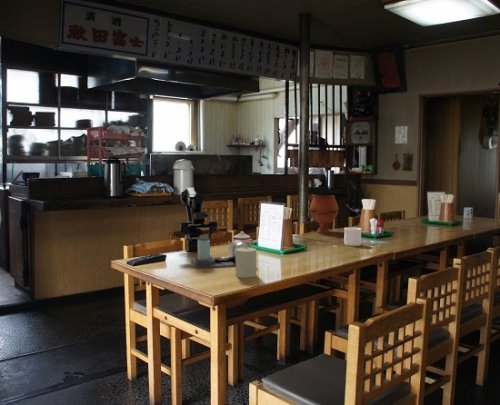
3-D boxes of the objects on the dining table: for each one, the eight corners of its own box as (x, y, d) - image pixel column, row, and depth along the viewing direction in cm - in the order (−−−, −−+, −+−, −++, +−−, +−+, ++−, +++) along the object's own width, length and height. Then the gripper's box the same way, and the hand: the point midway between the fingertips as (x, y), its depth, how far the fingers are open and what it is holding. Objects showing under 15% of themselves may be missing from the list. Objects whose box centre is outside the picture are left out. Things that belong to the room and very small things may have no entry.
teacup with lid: (239, 255, 253) (239, 233, 252) (230, 252, 261) (230, 231, 259) (258, 253, 260) (258, 231, 259) (248, 250, 267) (248, 229, 266)
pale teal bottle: (197, 261, 235) (197, 235, 233) (208, 260, 236) (207, 234, 235) (199, 263, 230) (199, 236, 229) (210, 263, 231) (209, 236, 230)
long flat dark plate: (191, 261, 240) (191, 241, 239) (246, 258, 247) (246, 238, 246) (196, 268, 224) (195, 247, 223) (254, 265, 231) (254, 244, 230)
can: (255, 272, 217) (255, 246, 216) (256, 277, 208) (256, 250, 207) (235, 272, 217) (235, 246, 216) (235, 278, 208) (235, 250, 207)
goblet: (343, 232, 328) (344, 195, 326) (321, 235, 318) (322, 197, 316) (325, 228, 344) (325, 193, 342) (303, 231, 334) (304, 195, 332)
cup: (362, 246, 280) (363, 229, 279) (345, 246, 280) (345, 229, 279) (359, 243, 289) (359, 227, 288) (342, 243, 290) (343, 227, 289)
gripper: (180, 206, 242) (183, 231, 233) (217, 205, 247) (221, 230, 237) (178, 219, 250) (181, 244, 241) (214, 218, 255) (218, 243, 246)
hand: (200, 240), depth 241 cm, fingers open, 9 cm apart
